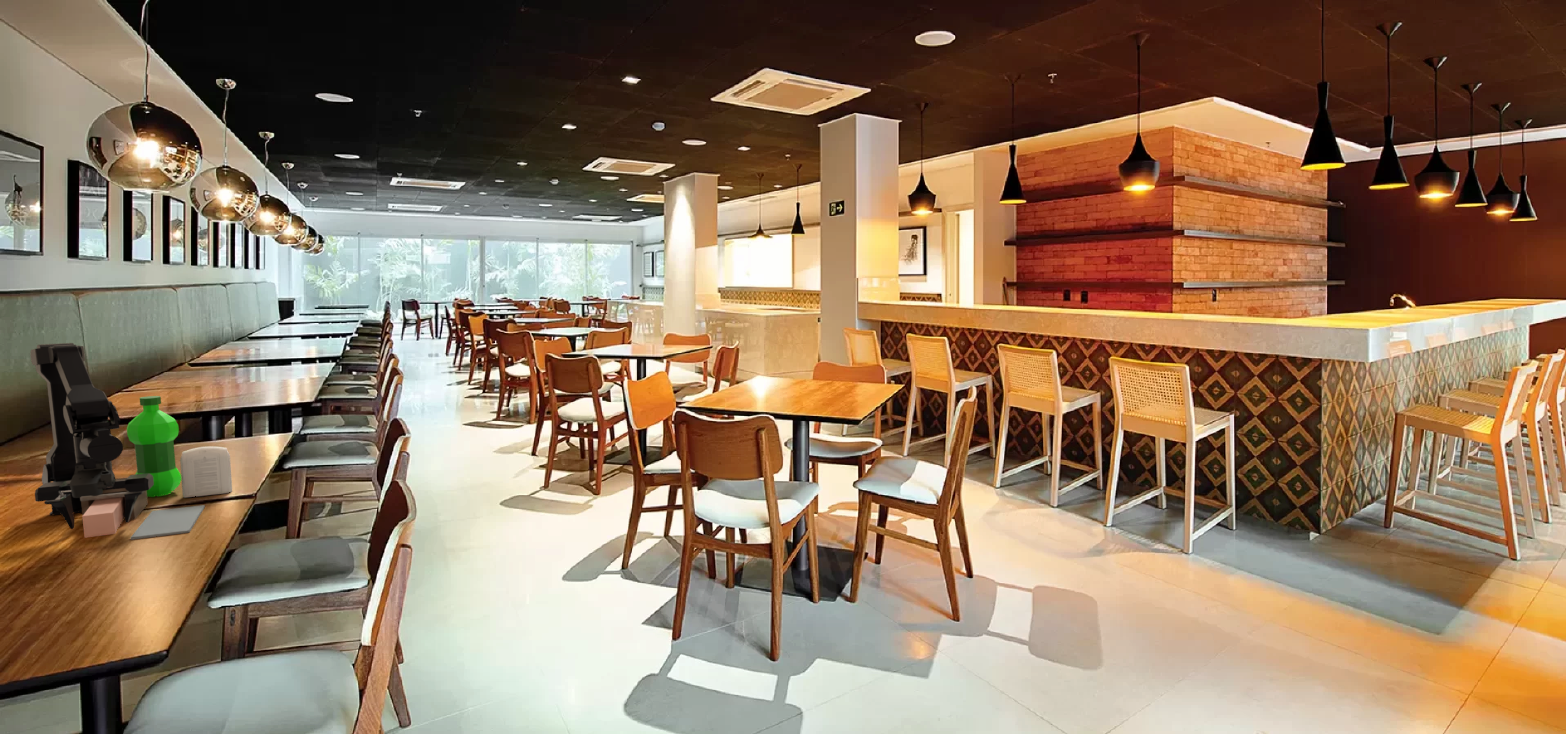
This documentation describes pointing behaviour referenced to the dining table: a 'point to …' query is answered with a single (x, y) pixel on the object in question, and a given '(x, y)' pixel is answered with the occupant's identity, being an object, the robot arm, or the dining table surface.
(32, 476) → the dining table surface
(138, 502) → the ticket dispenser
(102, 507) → the block
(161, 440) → the plastic bottle
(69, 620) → the dining table surface
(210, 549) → the dining table surface
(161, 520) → the slate mat
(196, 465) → the white arched slab
